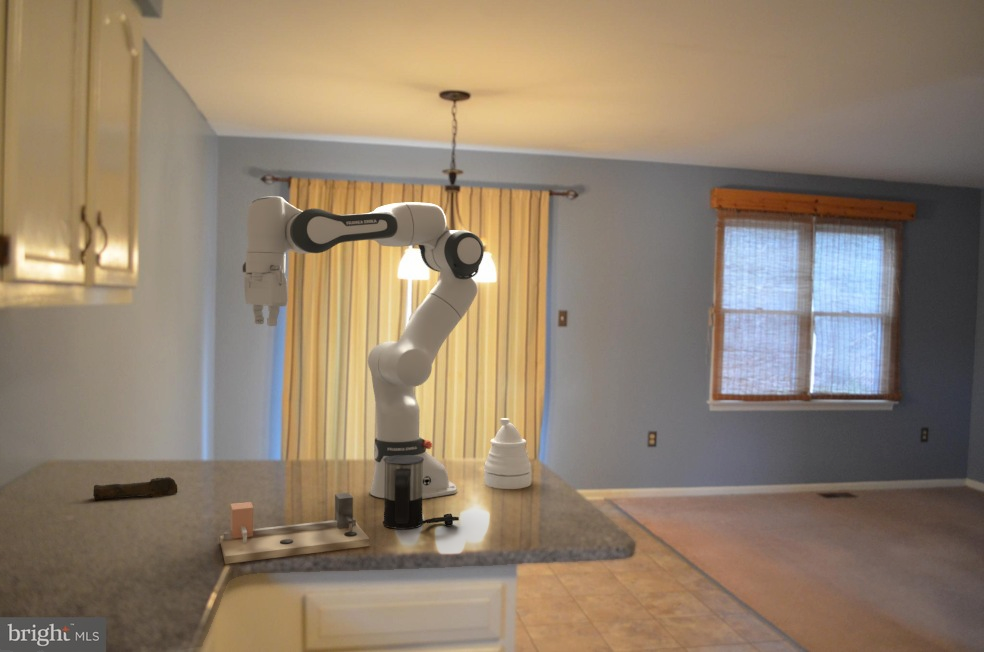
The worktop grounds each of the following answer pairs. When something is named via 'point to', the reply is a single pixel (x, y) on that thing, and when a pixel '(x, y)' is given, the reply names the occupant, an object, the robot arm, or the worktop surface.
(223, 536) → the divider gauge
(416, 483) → the milk frother
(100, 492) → the hand tool
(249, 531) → the block
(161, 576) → the worktop surface
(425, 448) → the robot arm
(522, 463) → the honey pot
